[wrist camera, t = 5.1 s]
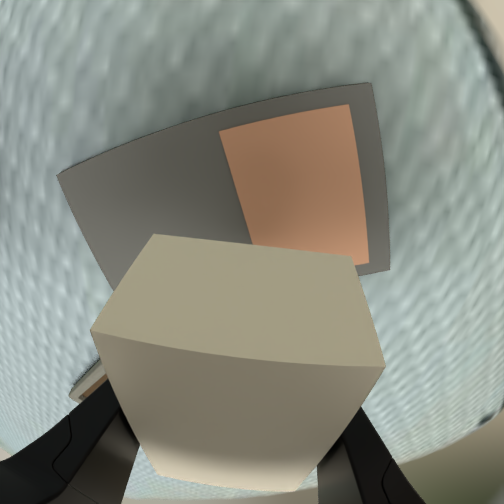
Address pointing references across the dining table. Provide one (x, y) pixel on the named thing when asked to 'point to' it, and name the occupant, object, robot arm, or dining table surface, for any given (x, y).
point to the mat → (244, 182)
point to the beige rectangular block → (238, 358)
